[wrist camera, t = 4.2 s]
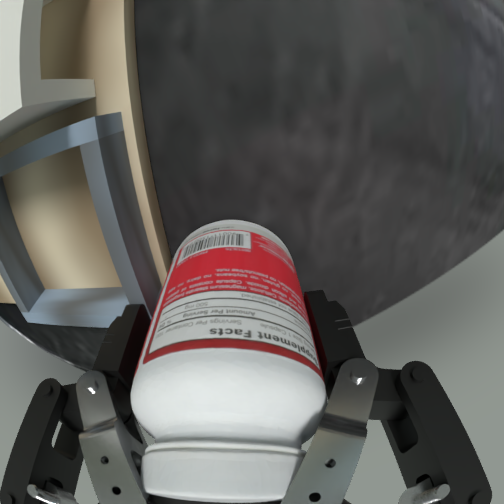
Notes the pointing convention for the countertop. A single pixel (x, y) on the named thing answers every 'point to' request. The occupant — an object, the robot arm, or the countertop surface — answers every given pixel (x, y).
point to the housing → (29, 71)
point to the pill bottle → (228, 371)
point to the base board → (83, 181)
